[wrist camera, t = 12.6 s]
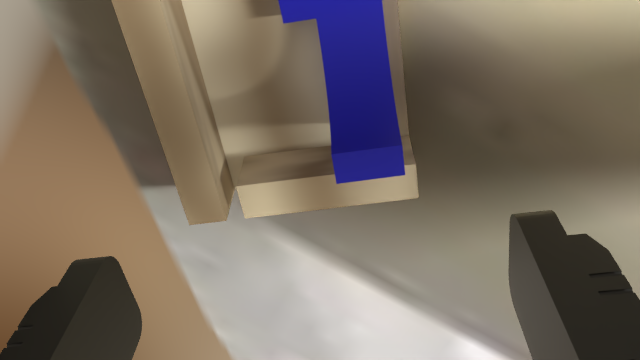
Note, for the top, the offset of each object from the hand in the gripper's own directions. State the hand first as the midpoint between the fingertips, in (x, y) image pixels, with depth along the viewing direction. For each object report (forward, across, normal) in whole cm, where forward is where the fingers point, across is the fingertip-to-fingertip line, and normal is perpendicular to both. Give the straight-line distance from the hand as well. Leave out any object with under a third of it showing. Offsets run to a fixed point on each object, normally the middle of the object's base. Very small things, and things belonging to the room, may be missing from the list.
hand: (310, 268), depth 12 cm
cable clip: (+18, 0, 0) cm, 18 cm away
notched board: (+19, +3, 0) cm, 19 cm away
